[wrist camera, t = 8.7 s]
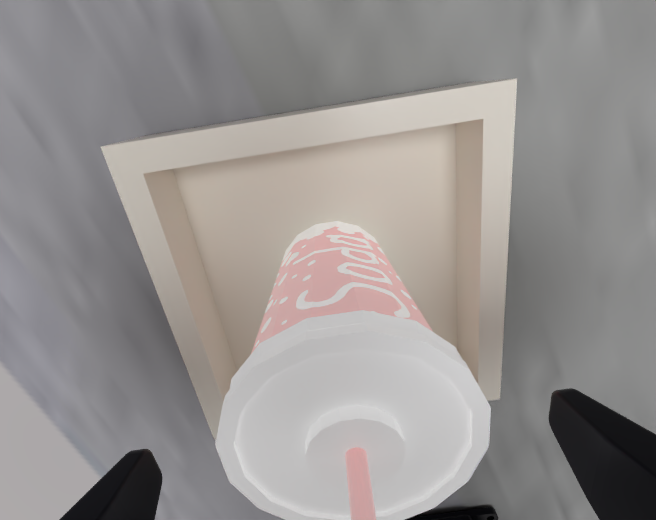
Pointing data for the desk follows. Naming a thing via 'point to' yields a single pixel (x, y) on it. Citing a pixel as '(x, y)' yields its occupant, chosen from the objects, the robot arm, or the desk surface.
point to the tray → (327, 216)
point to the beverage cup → (349, 393)
